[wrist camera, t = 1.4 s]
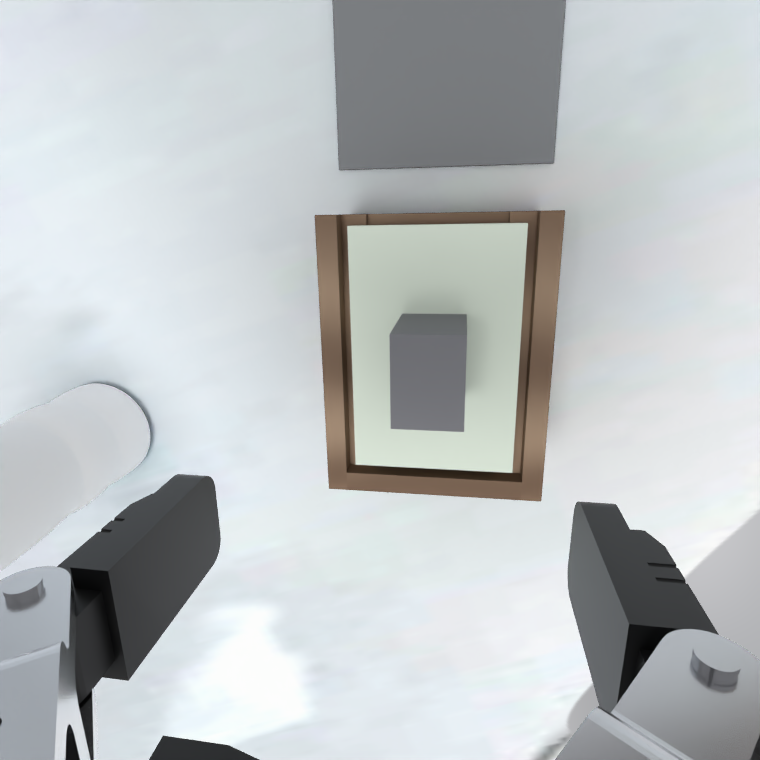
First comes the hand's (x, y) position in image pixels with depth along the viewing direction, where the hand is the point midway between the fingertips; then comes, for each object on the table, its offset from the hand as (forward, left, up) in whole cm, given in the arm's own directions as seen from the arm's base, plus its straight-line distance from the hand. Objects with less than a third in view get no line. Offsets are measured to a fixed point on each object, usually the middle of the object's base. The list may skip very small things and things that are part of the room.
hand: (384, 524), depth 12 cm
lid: (0, 0, -16) cm, 16 cm away
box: (0, 0, -23) cm, 23 cm away
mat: (-16, 0, -23) cm, 28 cm away
